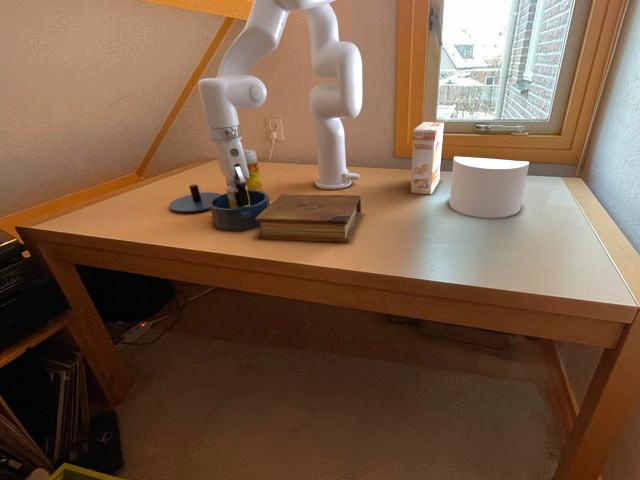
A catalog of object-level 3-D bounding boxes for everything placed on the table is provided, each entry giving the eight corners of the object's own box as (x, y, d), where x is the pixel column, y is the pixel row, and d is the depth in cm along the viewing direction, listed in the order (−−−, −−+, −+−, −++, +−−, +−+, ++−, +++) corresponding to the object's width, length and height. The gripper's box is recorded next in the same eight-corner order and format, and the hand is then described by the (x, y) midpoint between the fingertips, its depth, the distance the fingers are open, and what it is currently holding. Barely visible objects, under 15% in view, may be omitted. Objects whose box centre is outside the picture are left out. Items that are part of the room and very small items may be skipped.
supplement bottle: (238, 217, 100) (231, 182, 95) (227, 212, 103) (220, 178, 98) (255, 211, 103) (248, 177, 98) (244, 207, 106) (237, 174, 101)
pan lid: (222, 192, 125) (218, 175, 122) (228, 208, 112) (224, 188, 109) (169, 201, 120) (164, 182, 116) (170, 218, 107) (164, 198, 104)
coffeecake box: (431, 194, 117) (436, 130, 107) (409, 192, 120) (412, 129, 109) (440, 181, 129) (444, 121, 119) (420, 179, 131) (423, 121, 121)
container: (522, 197, 112) (532, 153, 106) (516, 222, 97) (526, 171, 90) (457, 190, 120) (461, 148, 113) (441, 212, 105) (445, 165, 98)
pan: (262, 203, 115) (259, 184, 112) (279, 227, 99) (276, 206, 96) (210, 212, 110) (205, 193, 107) (219, 239, 93) (213, 217, 90)
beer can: (258, 201, 117) (250, 153, 109) (241, 200, 118) (231, 152, 110) (266, 195, 122) (258, 148, 114) (249, 194, 123) (241, 148, 115)
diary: (361, 214, 105) (360, 194, 102) (348, 243, 89) (346, 221, 86) (284, 211, 109) (282, 192, 106) (259, 238, 93) (255, 217, 90)
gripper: (251, 136, 88) (264, 208, 97) (229, 127, 100) (242, 191, 109) (219, 140, 84) (236, 214, 94) (201, 130, 97) (217, 197, 106)
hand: (239, 201), depth 101 cm, fingers closed on supplement bottle, 5 cm apart
